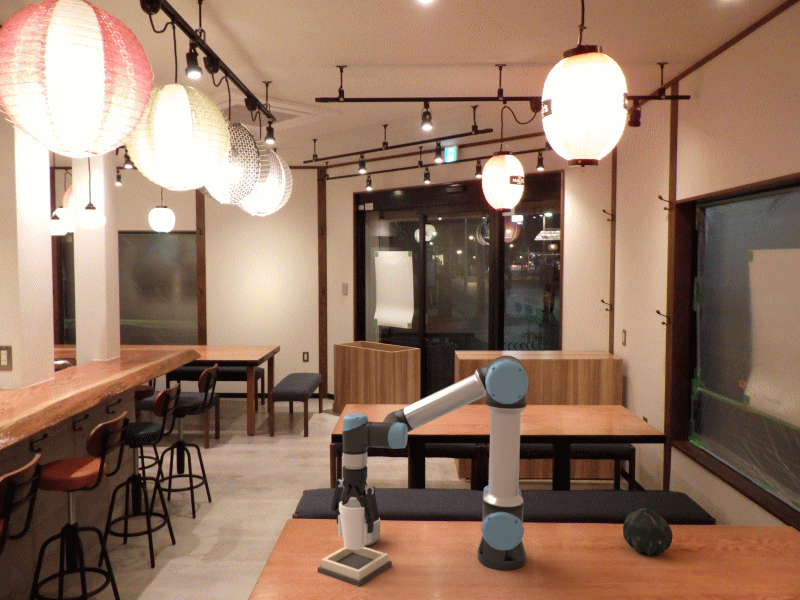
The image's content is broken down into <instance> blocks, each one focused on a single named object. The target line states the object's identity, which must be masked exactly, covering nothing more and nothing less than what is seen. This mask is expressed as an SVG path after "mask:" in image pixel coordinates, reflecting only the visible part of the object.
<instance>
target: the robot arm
mask: <svg viewBox="0 0 800 600" xmlns="http://www.w3.org/2000/svg"><path fill="white" fill-rule="evenodd" d="M528 388H529V376H528V373H527V370H526V368H525V366H524V364H523V363H522V361H520V359H518V358H517V357H515V356H512V355H506V354H505V355H501V356H498V357H496V358H494V359H492V360H491V361H489V362H488V363H486V364H485V365H482V366H480V367H478V368H477V369H475V372H474V373H473V374H471V375H470V376H468V377H465V378H463V379H461V380H459V381H457V382H454V383H453V384H450V385H449V386H447V387H445V388H442V389H440V390H438V391H436V392H434V393H431V394H430V395H428V396H426V397H423V398H421V399H419V400H418V401H417V400H416V402H413V403H411V404H409V405H407V406H405V407H402V408H401V409H399V410H394V411H391V412H389V413H388V414H386V416H385V418H384V419H383V421H370V420H369V418H368V415H367V414H365V413H358V412H355V413H348V414H346V415H344V417H343V420H342V421H343V422H342V429H341V432H342V456H341V457H342V465H343V466H342V468H341V469H342V471H341V472H342V478H339V479H337V480H335V481H334V487H335V488H334V493H333V497H332V498H333V499H332V503H331V507H330V510H331V511H332V512H335V514H336V525H337V530H338V531H337V536H338V537H339V538H340V537H343V533H342V525H341V517H340V512H339V503H340V501H342V503H343V505H345V504H347V503H348V501H349V499H350V498H351V497H352V498H357V501H359V503H360V506H361V507H364V516H365V519H366V522H364V544H365V545H367V544H368V543H370V542H372V532H373V523H374V522H375V521H377V520H379V517H380V514H379V509H378V504H377V498H376V487H375V485H374V486H369V485H368V484H367V478H368V466H367V465H368V448H380V449H393V450H396V449H405V448H406V447H407V445H408V444H407V443H408V437H409V435H408V434H409V433H411V432H412V431H413V430H416V429H418V428H420V427H423V426H424V425H427V424H428V423H430V422H433V421H435V420H437V419H439V418H441V417H443V416H446V415H448V414H450V413H452V412H454V411H456V410H459V409H461V408H463V407H465V406H467V405H469V404H471V403H473V402H476V401H478V400H480V399H482V398H485V406H486V407H487V408H488V409H489V410H490V411H489V412H490V420H489V422H490V426H489V459H488V485H486V486H485V487H483V493H482V517H481V519H482V520H481V521H482V523H481V525H480V527H481V529H480V530H481V533H482V537H481V539H480V542H479V545H478V549H477V560H478V562H479V563H480V564H482V565H483V566H485V567H488V568H491V569H495V570H502V571H509V570H510V571H511V570H515V569H520V568H522V567H523V566H525V565H526V563H527V551H526V548H525V545H524V542H523V537H524V534H525V528H524V498H523V495H522V491H521V488H520V487H519V486H520V485H519V484H520V479H519V478H520V453H521V452H520V449H521V448H520V447H521V417H522V415H521V414H522V412H523V411H524V410H525V409H526V408H527V400H528V399H527V396H528V393H527V392H528ZM343 489H344V490H343ZM369 517H370V518H369Z"/></svg>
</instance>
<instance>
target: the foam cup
mask: <svg viewBox="0 0 800 600" xmlns="http://www.w3.org/2000/svg"><path fill="white" fill-rule="evenodd" d="M339 512H340V517H341V525H342V533H343V535H342V539H343V540H342V541H343V547H345V548H347V549H350V550H359V549H362V548H364V547H366V546H365V544H364V522H366V519H365V516H364V507H361V506H360V503H359V501H357V498H355V497H350V499H349V501H348V503H347V504H345V505H343V503H342V501H340V503H339Z"/></svg>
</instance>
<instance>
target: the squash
mask: <svg viewBox="0 0 800 600" xmlns="http://www.w3.org/2000/svg"><path fill="white" fill-rule="evenodd" d="M624 519H625V520H624V522H623V526H622V535H623V538H624V541H625V542H626V543H627V544H628V545H629V547H631V548H633V549H634V550H635V552H636V553H638V554H643V553H644V554H645V555H647V556H651V555H653V554H655V555H662V554H663V553H665V552H666V551H667V550H668V549H669V548H670V547H671V544H672V541H673V536H674V535H673V530H672V528H671V526H670V525H669V523H668V522H667V521H666V519H664V517H663V516H662V515H660V514H659V513H657V512H656V511H654V510H652V509H649V508H646V507H643V508H639V509H637V510H634V511H632V512H630V513H629V514H627V516H626V517H625V518H624Z"/></svg>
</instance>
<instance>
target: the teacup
mask: <svg viewBox="0 0 800 600" xmlns="http://www.w3.org/2000/svg"><path fill="white" fill-rule="evenodd" d="M369 518H370V517H369ZM380 535H381V518H380V516H379V520H377V521H375V522H374V523H373V532H372V542H370V543H368V544H367V545H365V547H368V546H371V545H373V544H376V542H377V541H378V539H379V538H380Z"/></svg>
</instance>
